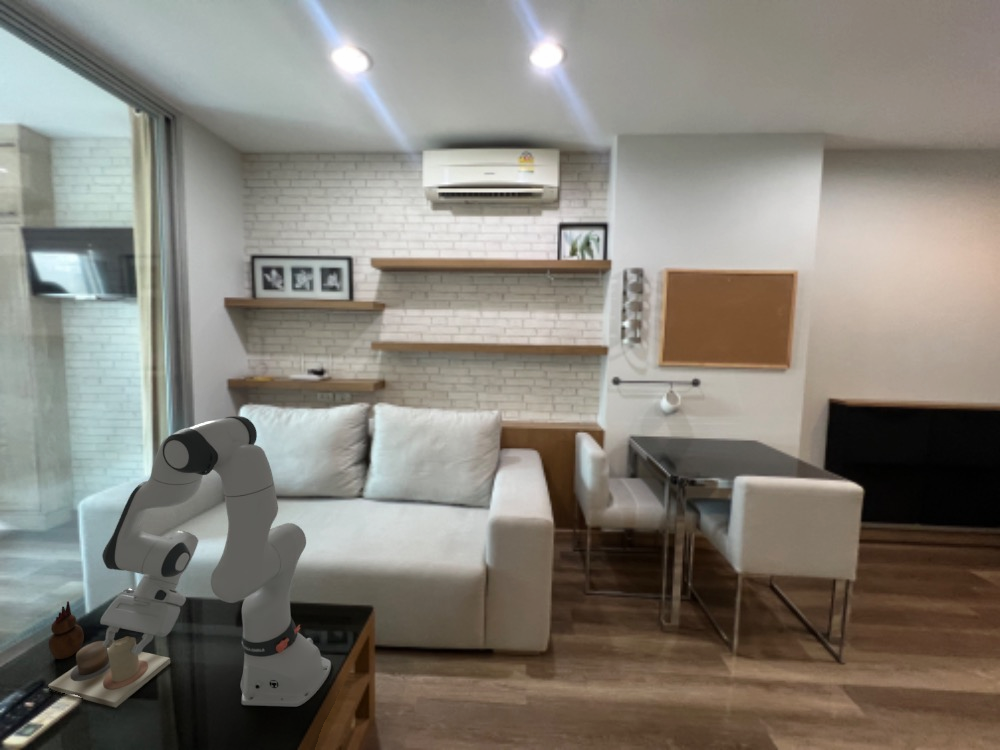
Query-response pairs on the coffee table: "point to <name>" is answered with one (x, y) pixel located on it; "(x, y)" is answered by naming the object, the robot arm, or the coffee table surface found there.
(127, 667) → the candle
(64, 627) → the wooden figurine
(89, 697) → the board
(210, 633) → the coffee table surface
